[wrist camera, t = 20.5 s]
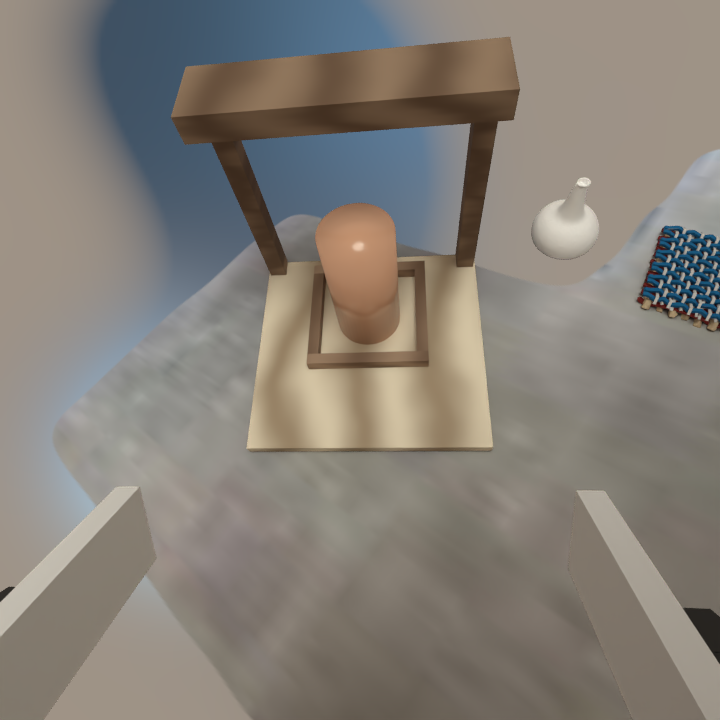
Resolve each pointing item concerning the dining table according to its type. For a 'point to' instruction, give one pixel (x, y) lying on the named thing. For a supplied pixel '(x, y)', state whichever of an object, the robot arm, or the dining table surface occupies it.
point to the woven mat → (685, 277)
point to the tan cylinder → (361, 270)
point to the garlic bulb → (566, 225)
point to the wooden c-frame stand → (415, 274)
